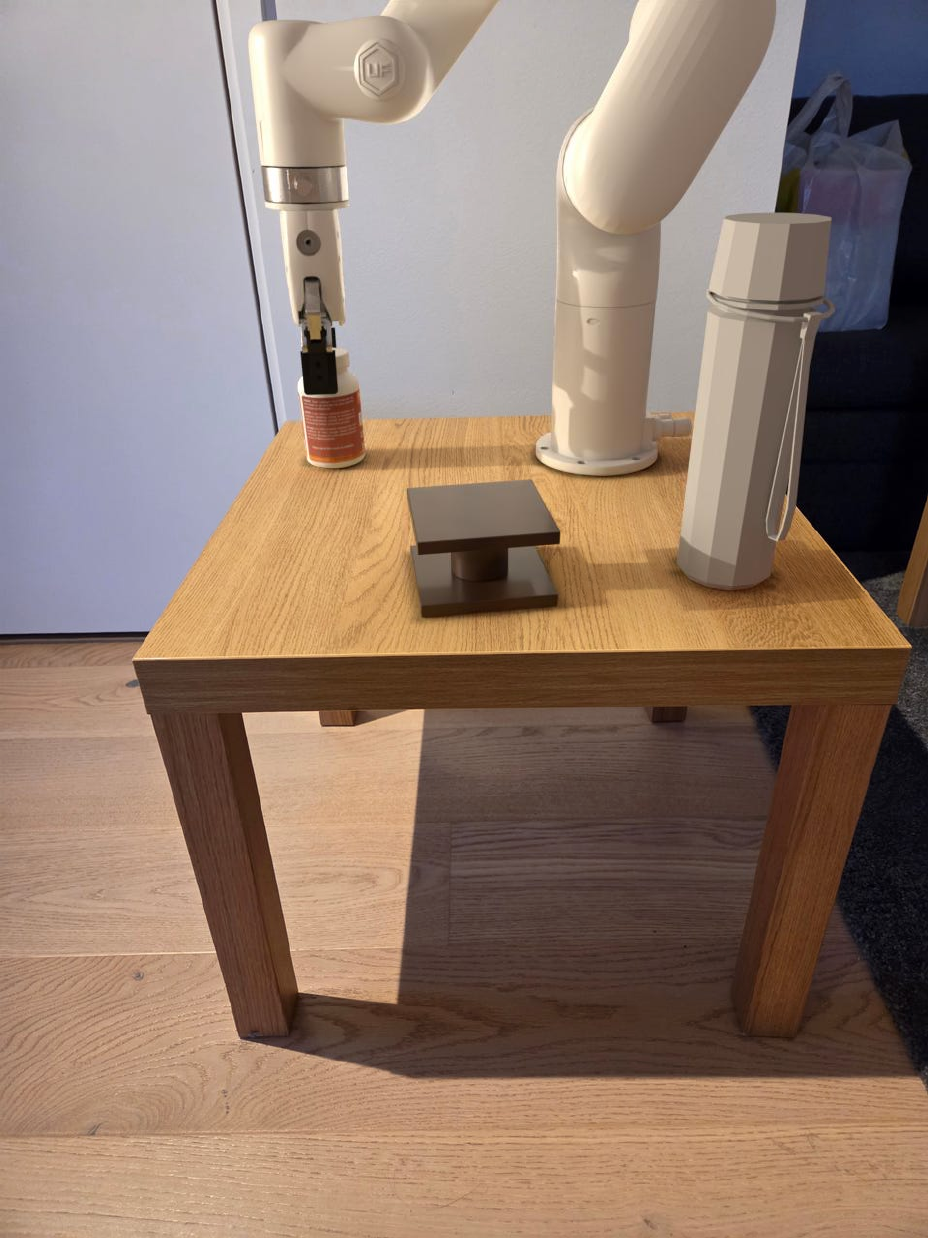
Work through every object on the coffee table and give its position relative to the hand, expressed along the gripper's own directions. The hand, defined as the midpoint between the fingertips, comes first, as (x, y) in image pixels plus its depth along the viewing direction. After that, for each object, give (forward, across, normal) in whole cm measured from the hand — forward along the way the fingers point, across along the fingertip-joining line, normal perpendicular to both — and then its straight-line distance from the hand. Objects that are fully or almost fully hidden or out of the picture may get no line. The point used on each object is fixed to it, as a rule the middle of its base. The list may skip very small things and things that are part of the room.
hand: (322, 379), depth 85 cm
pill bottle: (+9, 0, -1) cm, 9 cm away
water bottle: (+8, -32, -31) cm, 45 cm away
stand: (+8, -29, -12) cm, 32 cm away
